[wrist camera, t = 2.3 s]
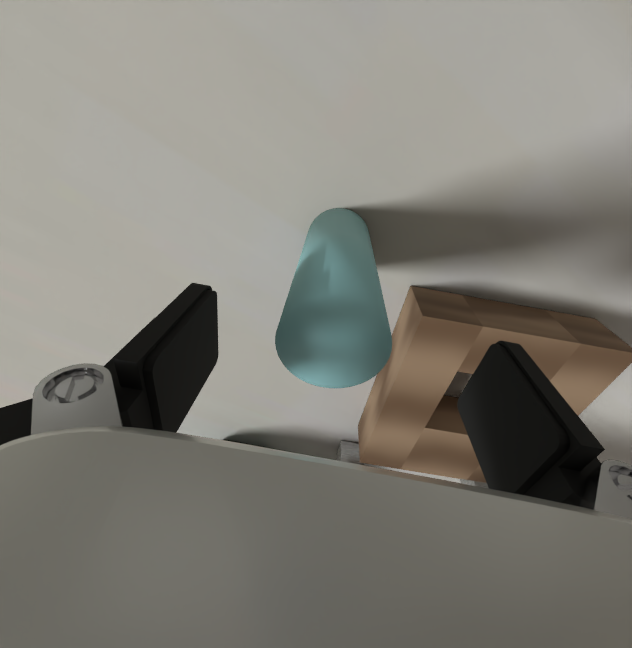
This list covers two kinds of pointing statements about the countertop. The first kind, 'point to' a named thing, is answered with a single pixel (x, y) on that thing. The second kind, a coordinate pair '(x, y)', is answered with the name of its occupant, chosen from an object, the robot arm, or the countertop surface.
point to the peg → (335, 307)
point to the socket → (464, 356)
